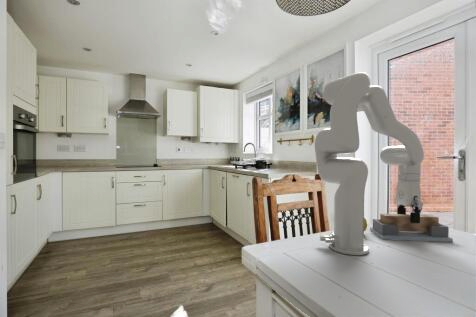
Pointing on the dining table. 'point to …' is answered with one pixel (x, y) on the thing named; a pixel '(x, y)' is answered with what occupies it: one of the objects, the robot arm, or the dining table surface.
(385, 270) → the dining table surface
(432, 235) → the grey stand
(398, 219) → the slat
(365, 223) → the lemon
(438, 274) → the dining table surface
